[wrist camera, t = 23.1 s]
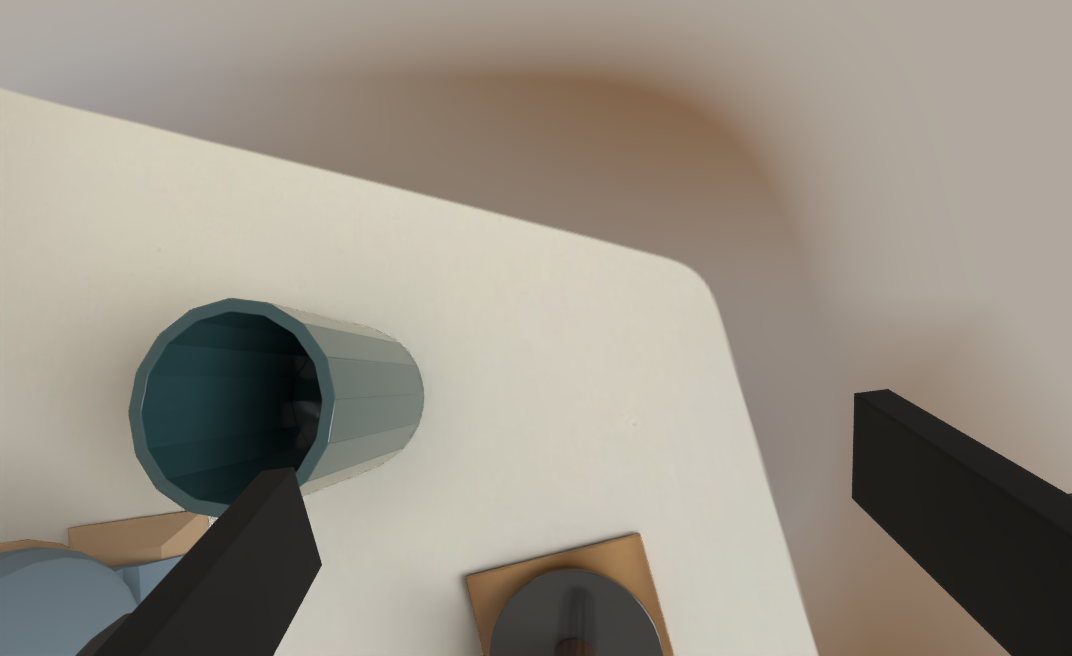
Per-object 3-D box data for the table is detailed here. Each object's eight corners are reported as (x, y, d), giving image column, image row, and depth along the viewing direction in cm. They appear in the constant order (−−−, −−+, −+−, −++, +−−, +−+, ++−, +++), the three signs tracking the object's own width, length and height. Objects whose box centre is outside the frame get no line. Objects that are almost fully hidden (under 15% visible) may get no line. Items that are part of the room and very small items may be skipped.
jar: (406, 312, 35) (308, 274, 23) (438, 449, 34) (354, 487, 22) (276, 348, 36) (113, 331, 24) (304, 485, 35) (149, 541, 23)
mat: (639, 532, 33) (640, 534, 32) (692, 722, 31) (694, 727, 31) (467, 575, 33) (465, 578, 33) (511, 762, 32) (510, 768, 32)
